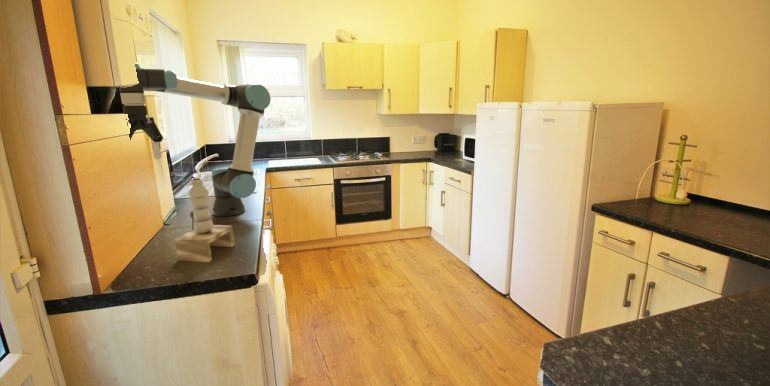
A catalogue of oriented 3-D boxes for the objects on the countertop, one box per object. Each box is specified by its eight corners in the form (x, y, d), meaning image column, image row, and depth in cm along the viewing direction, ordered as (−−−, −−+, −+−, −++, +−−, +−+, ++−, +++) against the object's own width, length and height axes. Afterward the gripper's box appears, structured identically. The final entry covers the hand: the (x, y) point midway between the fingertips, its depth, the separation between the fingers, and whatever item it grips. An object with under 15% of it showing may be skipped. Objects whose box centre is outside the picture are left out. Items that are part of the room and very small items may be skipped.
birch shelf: (207, 243, 143) (204, 224, 141) (234, 244, 141) (232, 225, 139) (178, 260, 128) (174, 239, 126) (208, 262, 126) (205, 241, 124)
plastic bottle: (193, 236, 128) (185, 182, 123) (195, 230, 134) (187, 178, 129) (213, 233, 131) (206, 180, 126) (214, 228, 137) (207, 176, 132)
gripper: (151, 104, 149) (160, 155, 154) (94, 105, 125) (107, 165, 130) (167, 104, 147) (175, 156, 153) (113, 105, 124) (125, 166, 129)
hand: (144, 160), depth 141 cm, fingers open, 13 cm apart
